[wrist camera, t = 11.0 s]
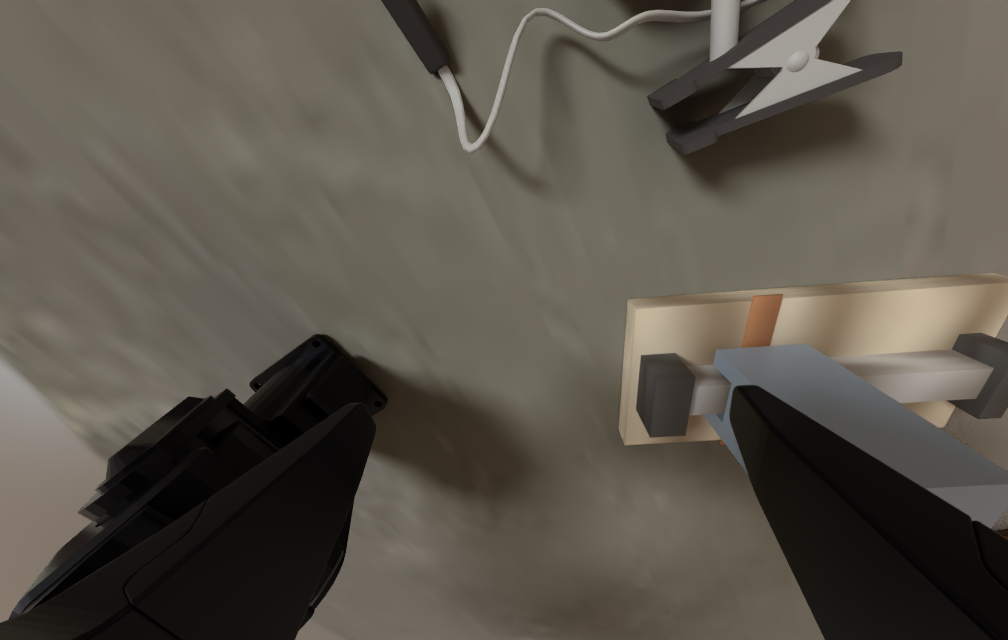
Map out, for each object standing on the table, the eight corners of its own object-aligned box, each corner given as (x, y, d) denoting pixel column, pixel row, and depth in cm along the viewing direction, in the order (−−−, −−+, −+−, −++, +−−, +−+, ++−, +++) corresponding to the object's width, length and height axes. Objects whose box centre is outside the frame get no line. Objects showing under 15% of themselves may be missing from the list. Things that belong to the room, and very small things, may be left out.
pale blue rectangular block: (703, 414, 22) (824, 576, 14) (716, 349, 20) (866, 491, 12) (785, 410, 22) (959, 570, 14) (806, 343, 20) (1025, 483, 12)
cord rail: (618, 432, 26) (636, 479, 22) (628, 294, 21) (653, 323, 17) (918, 415, 25) (988, 460, 21) (994, 267, 20) (1101, 292, 17)
